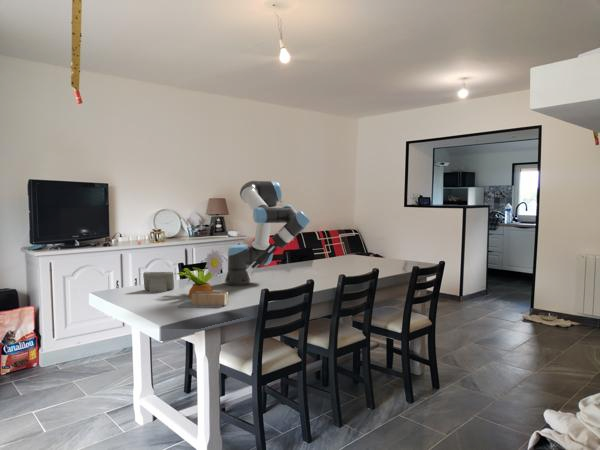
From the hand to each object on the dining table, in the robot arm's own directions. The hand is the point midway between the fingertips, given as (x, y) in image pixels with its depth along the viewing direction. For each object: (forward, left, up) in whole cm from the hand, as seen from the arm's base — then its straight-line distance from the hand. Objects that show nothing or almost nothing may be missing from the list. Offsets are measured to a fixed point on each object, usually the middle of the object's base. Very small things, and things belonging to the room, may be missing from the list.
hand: (247, 271), depth 206 cm
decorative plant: (-20, -28, -16) cm, 38 cm away
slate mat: (+1, -22, -16) cm, 27 cm away
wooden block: (0, -10, -13) cm, 17 cm away
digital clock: (-29, -53, -16) cm, 63 cm away
